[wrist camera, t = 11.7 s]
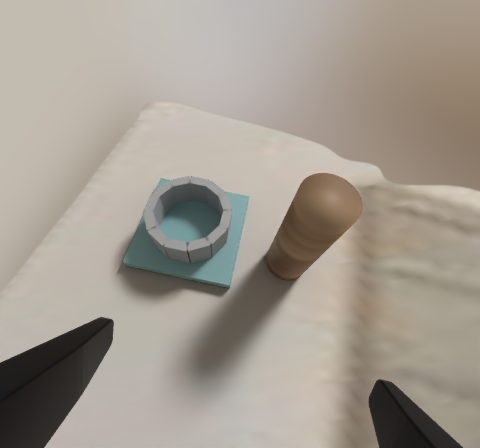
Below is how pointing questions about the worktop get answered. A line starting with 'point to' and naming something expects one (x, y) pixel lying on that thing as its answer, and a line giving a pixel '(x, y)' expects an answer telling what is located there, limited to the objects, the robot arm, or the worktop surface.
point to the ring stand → (189, 231)
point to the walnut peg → (313, 224)
